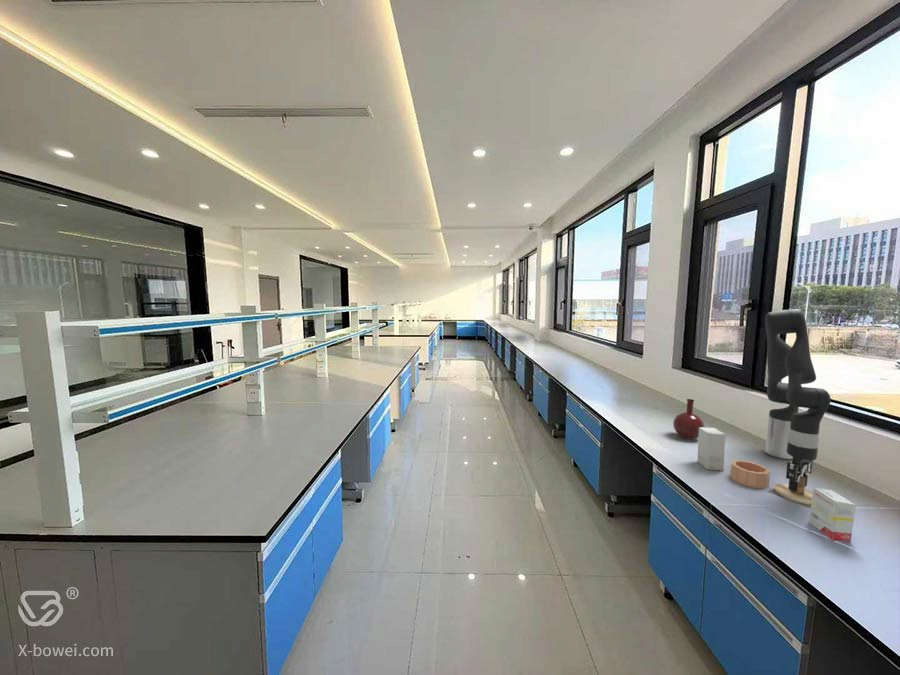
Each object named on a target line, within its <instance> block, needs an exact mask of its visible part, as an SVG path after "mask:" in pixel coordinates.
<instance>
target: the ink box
mask: <svg viewBox="0 0 900 675" xmlns="http://www.w3.org/2000/svg"><path fill="white" fill-rule="evenodd" d="M812 492H813V495H812V503H811V508H810V512H809V521H808V522H809V523H810V524H811V525H813V526H814V527H815V529H818V530H819V531H820V532H821V533H823V534H824V535H826V536H827V538H829V539H830V540H832V541H841V542H852V533H853V526H854V521H855V520H854V519H855V513H856V504H855V503H853V502H851V501H849V500H848V499H847V498H845V497H843V495H840V494H839V493H837V492H835V491H834V490H832V489H826V488H821V487H820V488H819V487H813V489H812Z"/></svg>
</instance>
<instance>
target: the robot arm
mask: <svg viewBox="0 0 900 675" xmlns="http://www.w3.org/2000/svg"><path fill="white" fill-rule="evenodd" d="M764 324H765V334H766V340H767V344H766V345H767V350H766V351H767V353H766V354H767V356H766V359H767V360H766V361H767V362H766V363H767V375H768V378H767V388H766V396H767V398H768V400H769V401H771V402H772V403H773V402H774V403H776V404H777V403H779V404H784V405H788V406H786V407H783V408H774V409H770V410H769V414H768V423H767V434H766V440H765V441H766V442H765V453H766V454H767V455H769V456H772V457H775V458H779V459H783V460H784V459H785V460H790V462H788V461H787V463H786V471H785V478H786V479H787V480H788V485H789V487H788V489H789V490H792V491H794V492H796V491H798V483H799V482H798V481H799V479H800V477H801V476H803V477H805V478H806V481H805V488H806V487H807V486H808V478H809V477H810V475H812V474H813V467H814V466H813V465H814V461H816V460H817V459H818V453H819V452H818V451H819V444H820V443H819V442H820V437H819V436H820V435H819V434H820V425H821V422H822V419H823V417H824V415H825V414H826V412H827V411H828V409H829V406H831V405H830V404H831V395H830V393H829V392H828V391H827V390H825V388H820V387H807V386H806V387H804V386H802V385H807V384H812V383H814V382H815V381H816V380H817V374H816V371H815V368H814V364H813V362H812V357H811V353H810V342H809V333H808V326H807V320H806V317H805V314H804V312H803V311H802V310H801V309H799V308H795V309H794V308H793V309H782V310H781V309H780V310H775V311H774V310H773V311H770V312H768V313H766V314H765V318H764ZM785 334H795V340H794V342H793V344H792V345H790V344H788V342H785V341H784V340H783V339H782V338H781V337H780V336H779V335H785ZM785 378H788V383H786V382H780V381H782V380H783V379H785ZM799 408H808V409H807V410H806V411H803V412H799ZM792 475H794V477H792Z"/></svg>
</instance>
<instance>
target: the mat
mask: <svg viewBox="0 0 900 675" xmlns="http://www.w3.org/2000/svg"><path fill="white" fill-rule="evenodd" d="M767 493H769V494H772V495H775V496H777V497H780V498H782V499H785V500H787V501H791V500H788V499H786V498H783V497H781V496H780V495H778V494H777V493H776V492H775V491H774V487H773V488H771V489H770V490H768V491H767ZM791 502H792V501H791ZM794 503H796V504H798V505H800V506H803V507H806V508H808V509H811V505H805V504H800V503H797V502H794Z"/></svg>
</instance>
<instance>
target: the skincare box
mask: <svg viewBox="0 0 900 675" xmlns="http://www.w3.org/2000/svg"><path fill="white" fill-rule="evenodd" d="M697 439H698V441H697V442H698V443H697V460H696V461H697V462H698V463H699V464H700V465H701V466H703V467H704V468H705V469H706V470H709V471H711V470H712V471H719V472H721V471H724V466H725V450H726V449H725V448H726V433H723V431H720V430H719V429H717V428H715V427H705V428H703V427H699V437H698V438H697Z"/></svg>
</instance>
